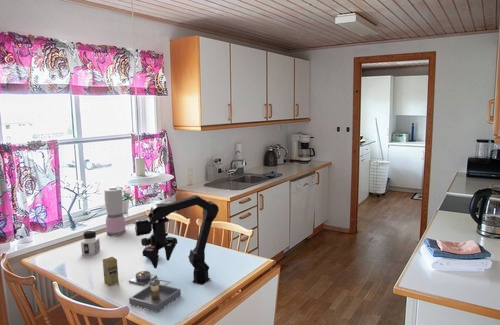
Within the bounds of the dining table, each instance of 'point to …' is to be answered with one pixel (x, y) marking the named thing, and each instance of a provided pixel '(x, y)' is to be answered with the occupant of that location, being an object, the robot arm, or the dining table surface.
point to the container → (90, 243)
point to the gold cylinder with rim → (155, 289)
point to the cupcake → (151, 247)
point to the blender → (114, 211)
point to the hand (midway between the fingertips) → (161, 264)
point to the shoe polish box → (110, 271)
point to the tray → (166, 297)
